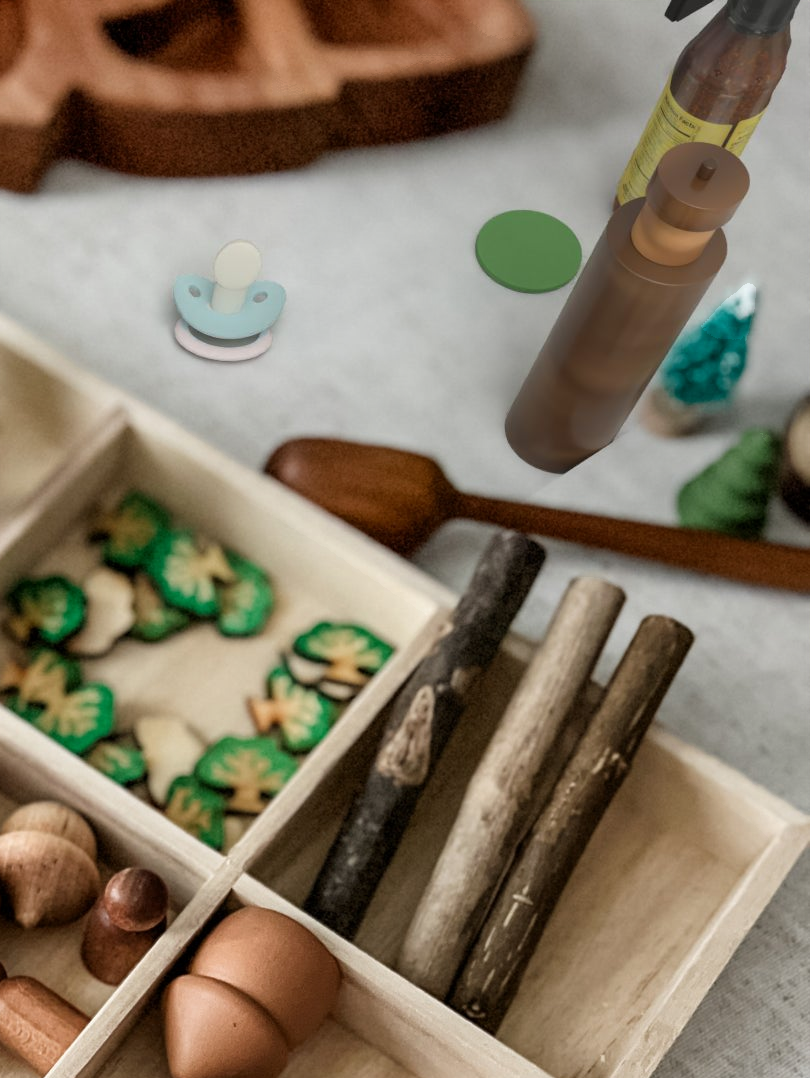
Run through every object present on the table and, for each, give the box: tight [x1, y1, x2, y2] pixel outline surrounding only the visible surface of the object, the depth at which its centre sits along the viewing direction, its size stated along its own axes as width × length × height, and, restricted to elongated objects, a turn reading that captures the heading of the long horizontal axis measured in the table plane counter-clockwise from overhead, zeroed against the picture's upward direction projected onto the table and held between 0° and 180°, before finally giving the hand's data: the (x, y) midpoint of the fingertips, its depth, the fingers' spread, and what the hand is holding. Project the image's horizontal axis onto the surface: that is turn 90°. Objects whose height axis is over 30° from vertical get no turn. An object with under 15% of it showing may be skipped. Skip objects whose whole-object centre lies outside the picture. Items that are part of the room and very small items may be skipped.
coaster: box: [474, 209, 583, 294], centre depth 114 cm, size 7×7×1 cm
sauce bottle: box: [612, 0, 801, 213], centre depth 106 cm, size 7×6×20 cm
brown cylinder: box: [504, 196, 728, 474], centre depth 101 cm, size 7×7×16 cm
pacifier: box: [172, 238, 287, 362], centre depth 109 cm, size 7×6×6 cm
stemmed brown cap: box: [631, 142, 751, 266], centre depth 91 cm, size 5×5×5 cm
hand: (759, 66), depth 84 cm, fingers open, 9 cm apart
